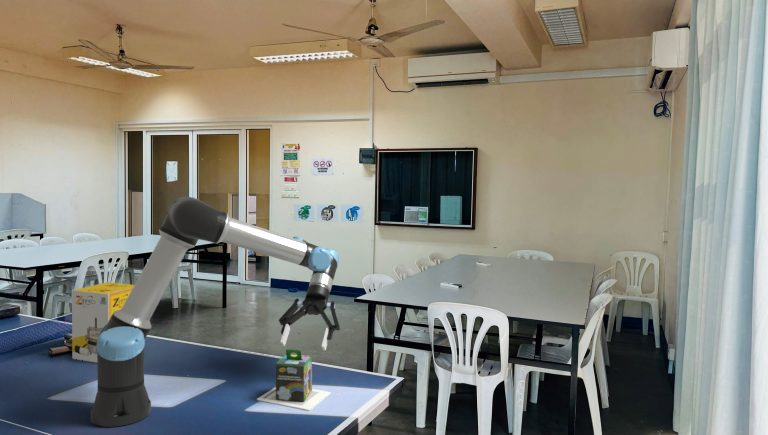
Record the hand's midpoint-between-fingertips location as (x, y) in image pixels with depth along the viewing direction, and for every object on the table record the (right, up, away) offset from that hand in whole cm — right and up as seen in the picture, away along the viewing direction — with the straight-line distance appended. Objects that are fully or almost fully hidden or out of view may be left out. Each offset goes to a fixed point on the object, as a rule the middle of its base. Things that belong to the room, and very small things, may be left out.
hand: (302, 346), depth 168 cm
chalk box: (-2, -15, -3) cm, 15 cm away
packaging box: (-76, -10, +29) cm, 82 cm away
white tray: (-2, -15, -3) cm, 15 cm away
